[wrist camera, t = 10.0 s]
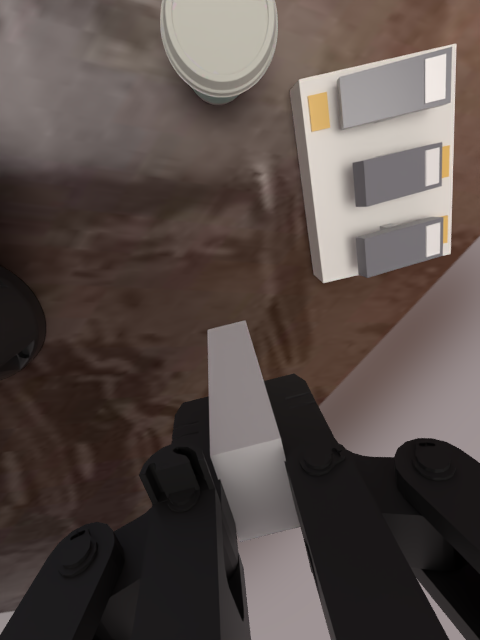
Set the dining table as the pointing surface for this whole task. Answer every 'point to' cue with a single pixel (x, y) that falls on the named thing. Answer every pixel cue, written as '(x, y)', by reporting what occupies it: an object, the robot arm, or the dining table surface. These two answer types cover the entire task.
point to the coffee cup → (219, 44)
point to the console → (356, 145)
